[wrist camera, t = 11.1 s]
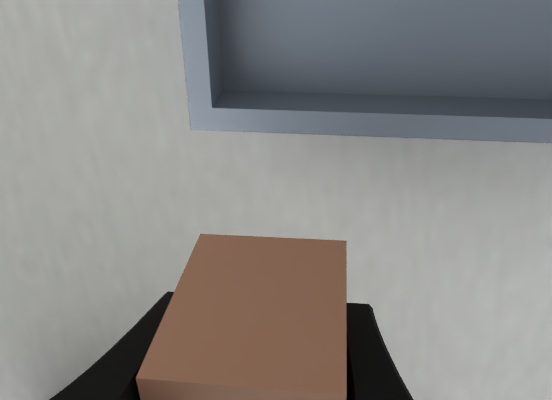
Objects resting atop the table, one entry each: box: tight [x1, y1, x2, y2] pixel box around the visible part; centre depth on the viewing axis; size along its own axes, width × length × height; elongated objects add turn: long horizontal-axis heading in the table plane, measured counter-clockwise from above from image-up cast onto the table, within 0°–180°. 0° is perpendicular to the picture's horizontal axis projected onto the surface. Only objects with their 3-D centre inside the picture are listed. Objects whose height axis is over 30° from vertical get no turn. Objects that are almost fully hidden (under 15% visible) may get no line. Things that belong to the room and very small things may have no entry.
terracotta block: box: [136, 234, 347, 400], centre depth 13 cm, size 4×4×5 cm
